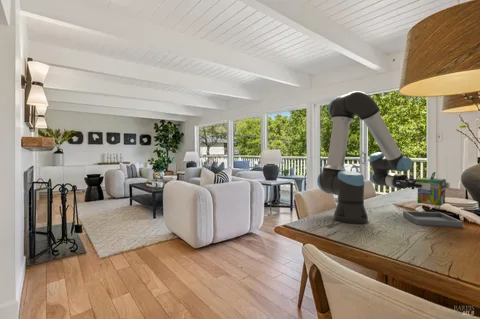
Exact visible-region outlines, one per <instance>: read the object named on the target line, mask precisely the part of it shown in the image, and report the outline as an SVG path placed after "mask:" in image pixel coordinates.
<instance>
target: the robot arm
mask: <svg viewBox="0 0 480 319" xmlns="http://www.w3.org/2000/svg"><path fill="white" fill-rule="evenodd" d="M380 109H381V108H380V107H379V105H378V104H377V103H376V101H375V100H374V99H373V98H372V97H371V96H370V95H369V94H367V93H366V92H363V91H358V90H357V91H356V90H355V91H352V92H351V91H350V92H349V93H347V94H343V95H342V94H341V95H339V96H337V97H335V98H333V99H332V100H331V101H330V102H329V105H328V109H327V110H328V113H329V116H330V120H331V122H332V128H331V135H330V140H329V141H330V142H329V149H328V155H327V159H326V160H327V161H326V165H325V166H323V168H322V172H320V173H319V175H318V177H317V181H316V182H317V185H318V188H319V190H321V191H322V192H325V193H326V194H330V195H331V194H332V195H334V196H337V204H336V207H335V209H334V213H333V219H334V220H336V221H338V222H341V223H347V224H364V223H365V224H366V223H368V221H369V216H368V213H367V211H366V207H365V202H364V201H365V180H364V179H365V178H364V175H363V173H360V172H358V171H353V170H346V168H345V167H344V166H345V160H346V159H345V158H346V153H347V146H348V140H349V132H350V127H351V126H350V124H351V123H353V122H354V120H355V115H356V116H358V118H359V119H360V120H361V121H363V122H364V124H365V125H366V127H367V128H368V131H369V132H370V134H371V135H372V137H373V139H374V141H375V143H376V145H377V146H378V147H379V150H380V151H378V152H374V153H371V154H369V162H370V166H371V169H372V173H371V175H370V181H371V183H372V184H374V185H376V186H382V187H391V188H392V189H394V188H396V189H401V190H402V189H406V188H407V189H410V188H411V190H415V189H417V190H418V189H425V190H430V184H426V183H418V179H419V178H418V179H417V178H411V177H410V178H409V177H408V176H407V175H406V174H402V173H401V174H399V173H393V172H392V171H394V172H408V171H410V170H411V169H412V167H413V161H412V159H411V158H410V157H408V156H404V155H403V154H402V151H401V150H400V148H399V146H398V145H397V142H396V141H395V139H394V137H393V136H392V134H391V132H390V130H389V129H388V126H387V125H386V123H385V121H384V119H383V117H382V116H381V114H380V111H381V110H380ZM389 171H391V173H390V172H389ZM450 188H451V182H447V181H446V186H445V189H447V190H449V189H450Z"/></svg>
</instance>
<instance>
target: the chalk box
mask: <svg viewBox="0 0 480 319" xmlns="http://www.w3.org/2000/svg"><path fill="white" fill-rule="evenodd" d="M435 176H436V171H433V172H432V174H431V177H420V178H418V183H426V184H430V190H425V189H418V188H417V204H424V205H431V206H437V207H438V206H439V207H441V206H442V205H444V204H446V188H445V186H446V182H447V180H446V179H445V178H435Z"/></svg>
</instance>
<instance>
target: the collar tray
mask: <svg viewBox="0 0 480 319" xmlns="http://www.w3.org/2000/svg"><path fill="white" fill-rule="evenodd" d="M402 217H405V218H406V219H408V220H409V221H411V222H412V223H414V224H416V225H417V226H424V227H425V226H426V227H427V226H428V227H429V226H430V227H445V228H446V227H448V228H464V227H463V225H464V224H463V223H464V221H462V220H460V219H458V218H454V217H453V216H450V215H448V214H446V213H443V212H435V211H417V210H416V211H415V210H414V211H413V210H411V211H409V210H402Z"/></svg>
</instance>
